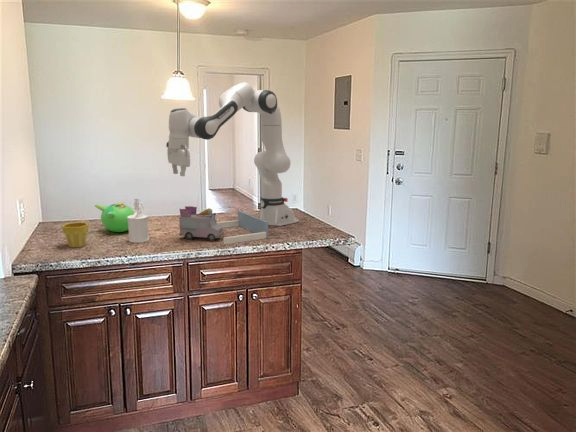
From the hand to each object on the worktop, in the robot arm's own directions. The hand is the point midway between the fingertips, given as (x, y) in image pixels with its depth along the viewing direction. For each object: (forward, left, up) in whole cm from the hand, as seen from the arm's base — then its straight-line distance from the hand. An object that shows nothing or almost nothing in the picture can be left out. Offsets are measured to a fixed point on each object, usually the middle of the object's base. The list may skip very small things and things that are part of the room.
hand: (178, 174), depth 218 cm
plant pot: (+44, -14, -31) cm, 55 cm away
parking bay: (-25, +2, -31) cm, 40 cm away
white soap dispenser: (+18, -9, -31) cm, 37 cm away
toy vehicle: (-9, +2, -31) cm, 33 cm away
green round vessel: (+22, -31, -31) cm, 49 cm away
